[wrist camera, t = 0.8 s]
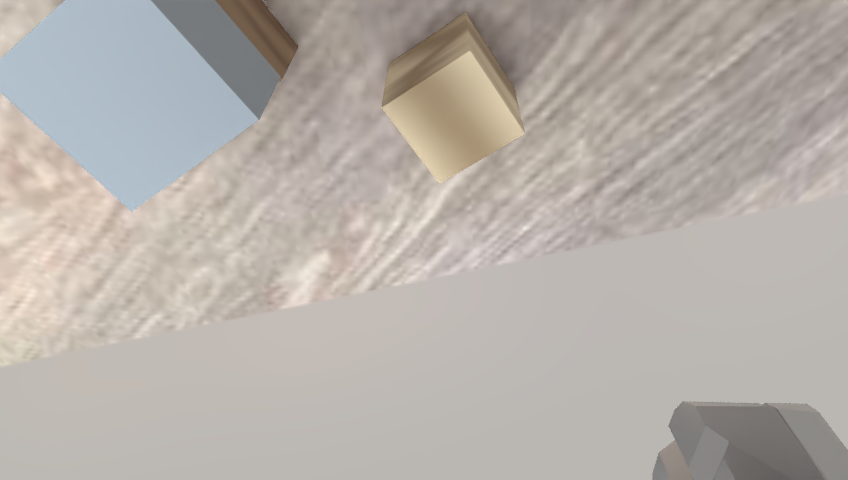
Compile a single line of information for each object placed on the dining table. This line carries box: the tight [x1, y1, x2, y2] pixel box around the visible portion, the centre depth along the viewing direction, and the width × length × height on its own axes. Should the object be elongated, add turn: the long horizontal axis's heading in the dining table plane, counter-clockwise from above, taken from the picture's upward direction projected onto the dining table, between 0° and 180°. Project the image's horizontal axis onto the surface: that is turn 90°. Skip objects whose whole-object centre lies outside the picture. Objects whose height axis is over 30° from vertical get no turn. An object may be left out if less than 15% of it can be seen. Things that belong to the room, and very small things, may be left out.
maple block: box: [382, 12, 525, 184], centre depth 36 cm, size 5×5×6 cm
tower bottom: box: [215, 0, 298, 82], centre depth 35 cm, size 8×8×5 cm
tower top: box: [0, 0, 280, 212], centre depth 31 cm, size 8×8×5 cm
